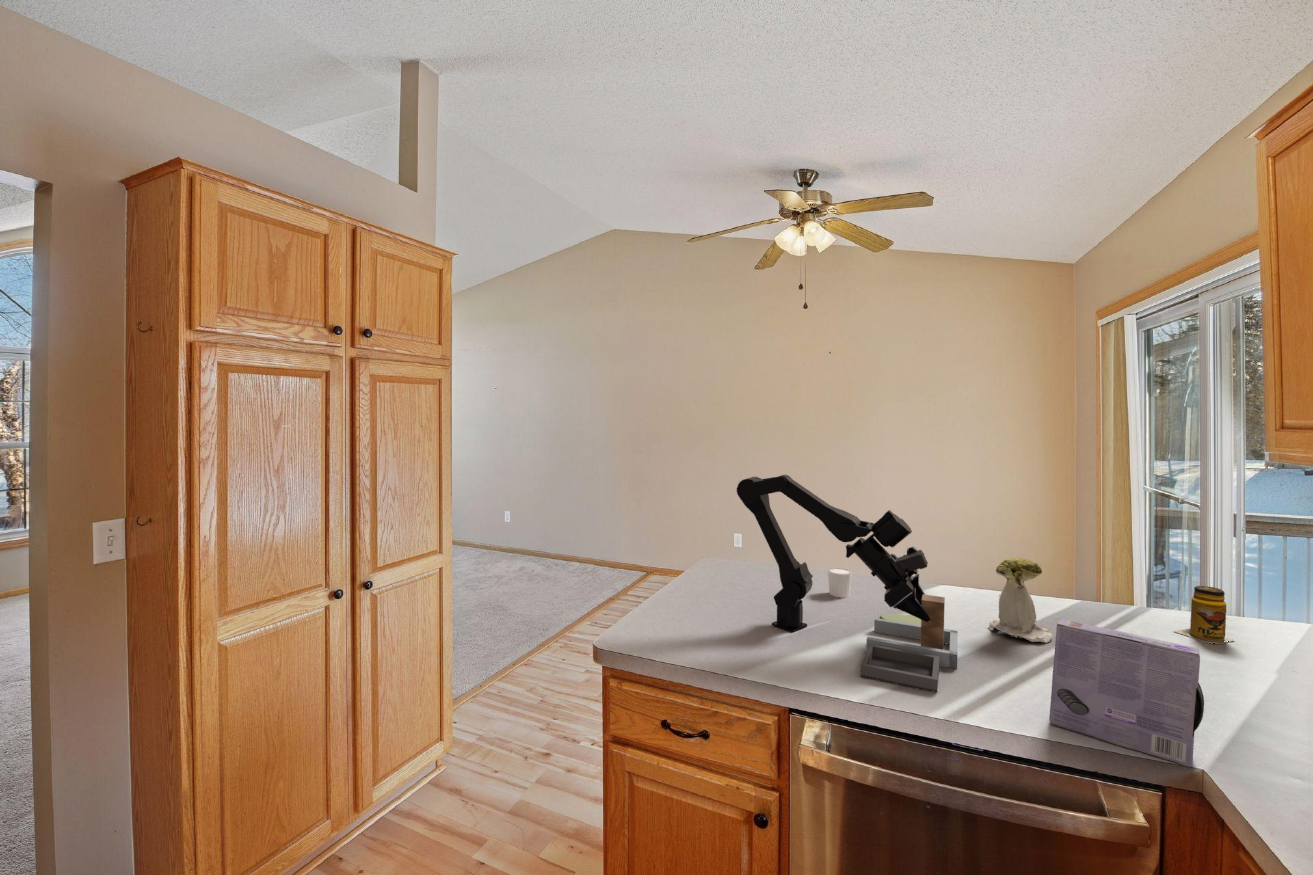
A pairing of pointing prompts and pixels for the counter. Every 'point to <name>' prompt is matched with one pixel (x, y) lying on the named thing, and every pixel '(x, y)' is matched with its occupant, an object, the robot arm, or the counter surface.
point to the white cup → (839, 582)
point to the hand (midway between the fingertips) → (929, 614)
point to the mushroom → (1018, 602)
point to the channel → (915, 632)
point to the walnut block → (933, 622)
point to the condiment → (1207, 616)
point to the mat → (902, 618)
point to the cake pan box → (1127, 690)
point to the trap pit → (901, 667)
